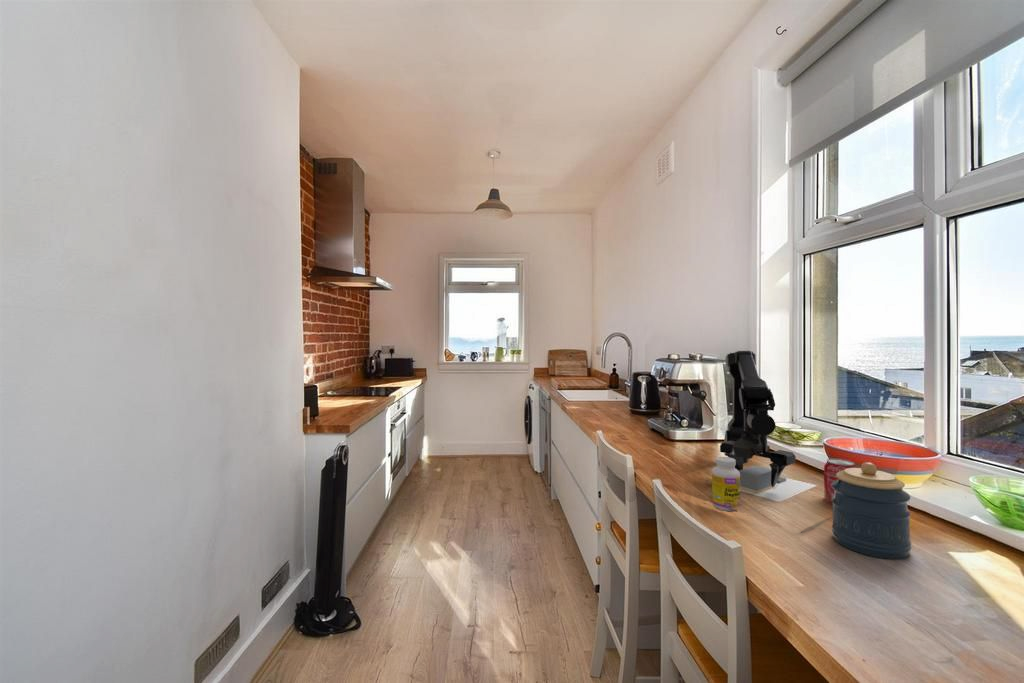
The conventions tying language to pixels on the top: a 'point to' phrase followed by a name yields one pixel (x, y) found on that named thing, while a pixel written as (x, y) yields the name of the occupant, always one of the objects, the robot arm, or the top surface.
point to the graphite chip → (781, 480)
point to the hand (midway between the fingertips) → (756, 482)
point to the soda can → (833, 475)
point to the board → (784, 490)
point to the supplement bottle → (725, 484)
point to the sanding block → (755, 479)
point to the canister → (871, 512)
